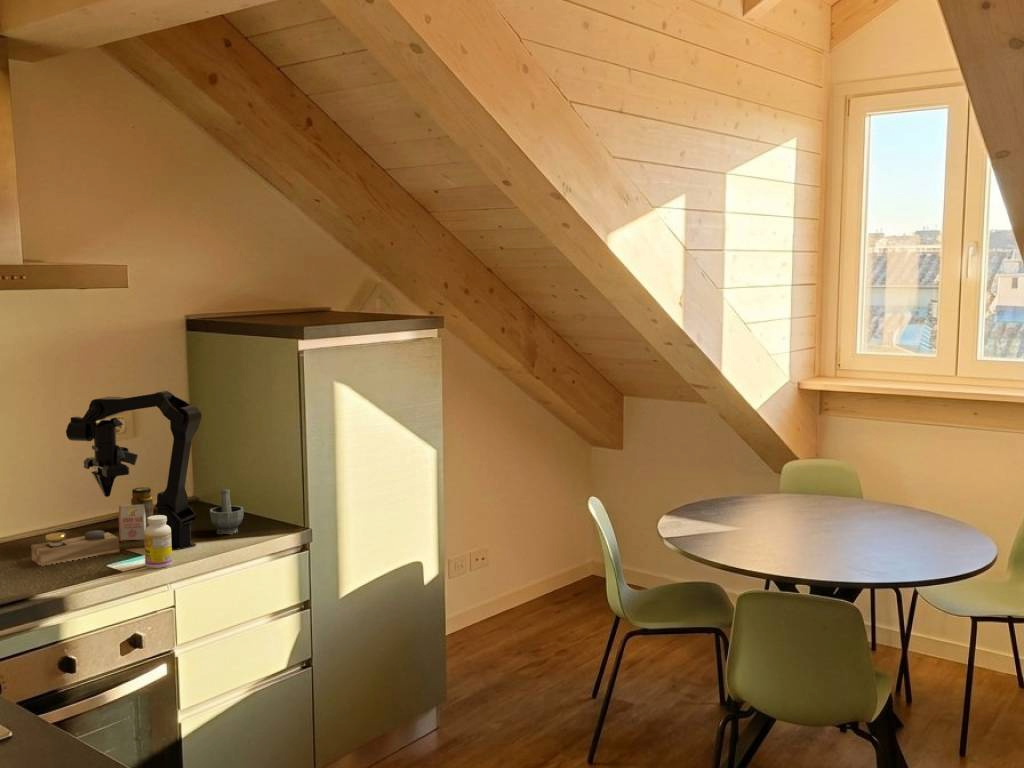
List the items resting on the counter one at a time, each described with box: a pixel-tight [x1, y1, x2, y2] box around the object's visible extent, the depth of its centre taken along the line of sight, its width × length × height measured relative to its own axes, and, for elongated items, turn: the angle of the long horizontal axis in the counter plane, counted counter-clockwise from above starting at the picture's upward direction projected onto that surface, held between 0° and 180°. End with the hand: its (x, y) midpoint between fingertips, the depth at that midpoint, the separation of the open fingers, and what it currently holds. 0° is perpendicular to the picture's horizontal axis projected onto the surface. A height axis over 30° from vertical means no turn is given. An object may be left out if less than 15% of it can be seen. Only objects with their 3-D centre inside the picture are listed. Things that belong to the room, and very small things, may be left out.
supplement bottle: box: [143, 514, 173, 569], centre depth 252 cm, size 7×7×13 cm
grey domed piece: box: [84, 529, 105, 541], centre depth 264 cm, size 5×5×4 cm
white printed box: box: [118, 504, 146, 542], centre depth 278 cm, size 4×7×10 cm, turn 103°
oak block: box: [30, 531, 120, 567], centre depth 261 cm, size 8×20×4 cm, turn 133°
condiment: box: [130, 486, 154, 527], centre depth 290 cm, size 7×8×12 cm
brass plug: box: [45, 532, 67, 548], centre depth 257 cm, size 5×5×4 cm
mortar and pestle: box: [209, 488, 245, 536], centre depth 287 cm, size 11×9×12 cm
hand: (107, 496), depth 274 cm, fingers closed
